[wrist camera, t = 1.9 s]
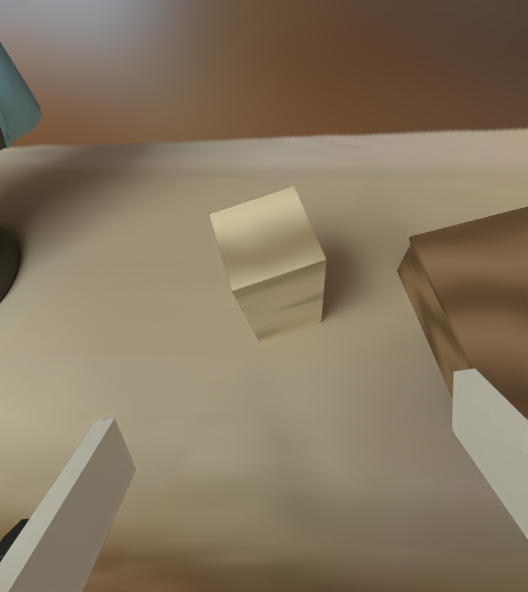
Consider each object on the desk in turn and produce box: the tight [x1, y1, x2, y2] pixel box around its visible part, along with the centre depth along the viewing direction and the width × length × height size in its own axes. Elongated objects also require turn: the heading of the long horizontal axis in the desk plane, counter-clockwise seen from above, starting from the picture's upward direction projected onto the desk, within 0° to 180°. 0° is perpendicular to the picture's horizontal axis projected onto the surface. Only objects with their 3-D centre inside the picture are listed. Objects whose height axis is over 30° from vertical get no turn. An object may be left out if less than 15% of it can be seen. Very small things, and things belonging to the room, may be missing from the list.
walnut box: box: [397, 207, 528, 417], centre depth 27 cm, size 14×12×6 cm
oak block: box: [210, 186, 326, 342], centre depth 27 cm, size 6×6×12 cm
